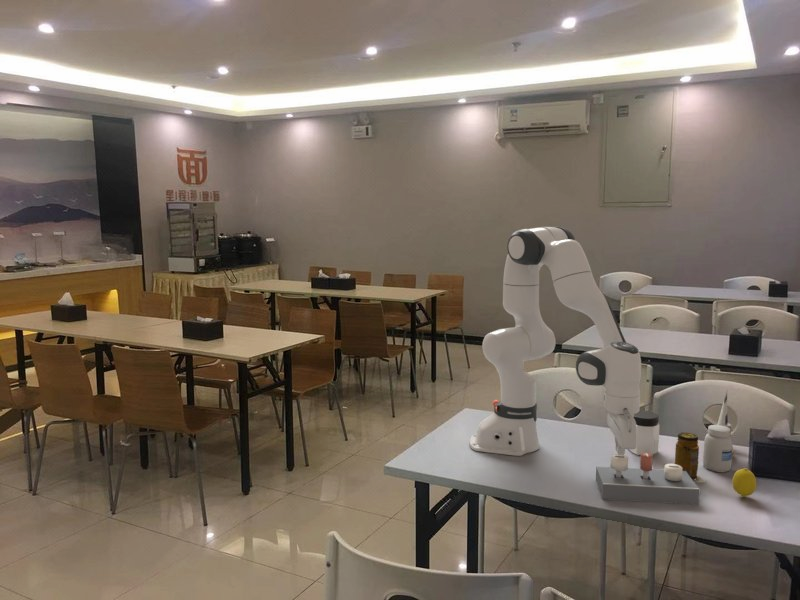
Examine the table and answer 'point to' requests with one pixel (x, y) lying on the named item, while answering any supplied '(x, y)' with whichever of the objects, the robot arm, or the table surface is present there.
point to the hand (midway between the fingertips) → (619, 453)
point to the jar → (646, 433)
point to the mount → (646, 486)
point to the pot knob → (646, 464)
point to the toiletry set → (719, 443)
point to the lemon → (744, 482)
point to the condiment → (688, 454)
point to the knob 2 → (673, 472)
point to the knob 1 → (619, 464)
